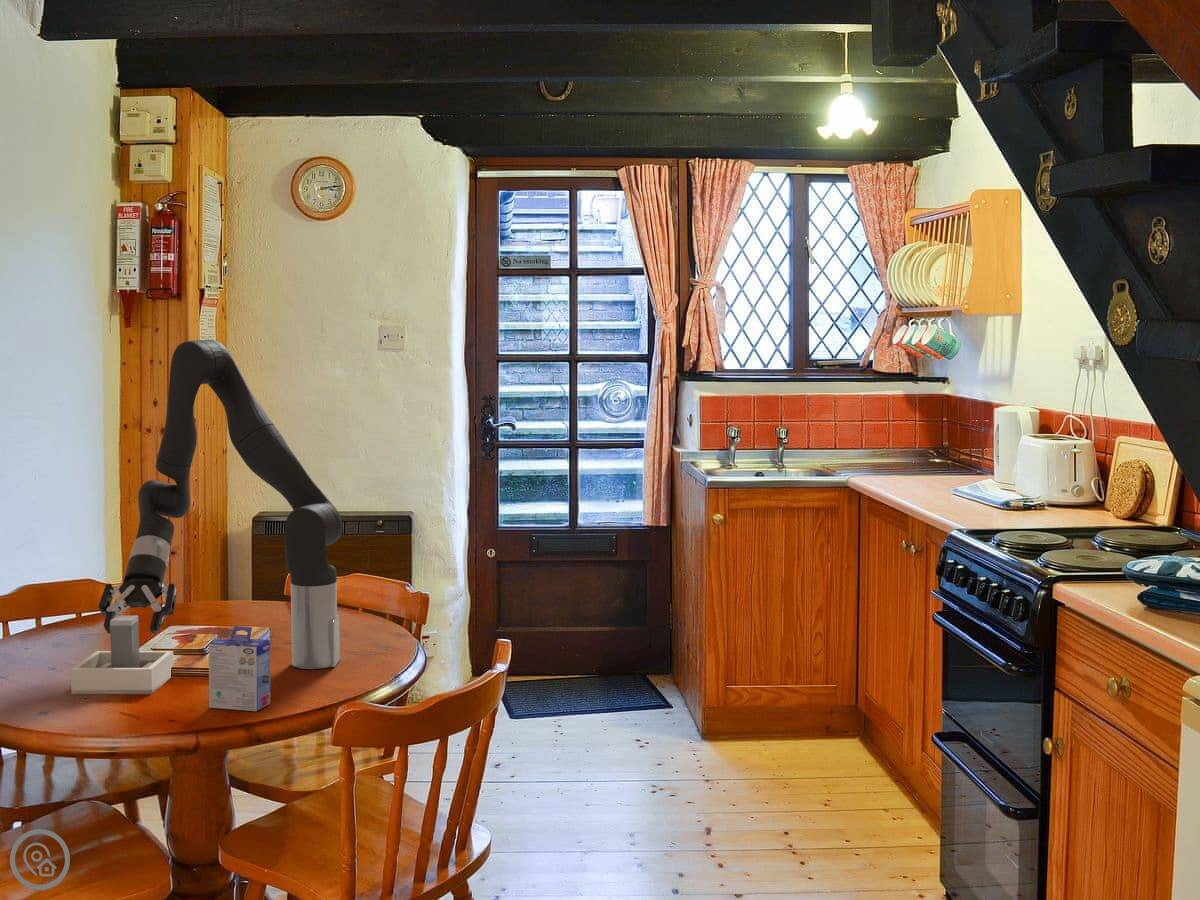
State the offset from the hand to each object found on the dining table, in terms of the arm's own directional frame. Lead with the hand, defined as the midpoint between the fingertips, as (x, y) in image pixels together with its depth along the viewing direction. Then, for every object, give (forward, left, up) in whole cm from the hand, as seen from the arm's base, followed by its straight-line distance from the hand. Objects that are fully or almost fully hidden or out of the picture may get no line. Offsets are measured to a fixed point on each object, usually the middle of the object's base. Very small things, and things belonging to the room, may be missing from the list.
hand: (130, 631), depth 236 cm
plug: (0, +3, -9) cm, 9 cm away
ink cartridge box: (-26, +18, -10) cm, 33 cm away
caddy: (0, +4, -9) cm, 10 cm away
